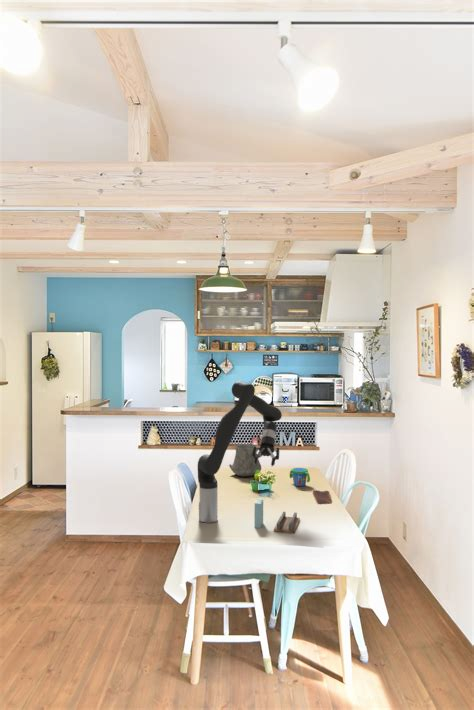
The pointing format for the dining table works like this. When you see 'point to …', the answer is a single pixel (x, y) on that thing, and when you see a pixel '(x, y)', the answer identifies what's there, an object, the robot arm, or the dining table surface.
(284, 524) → the track board
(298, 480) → the snack cup
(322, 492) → the wooden tablet
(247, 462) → the vessel
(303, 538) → the dining table surface
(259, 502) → the door panel
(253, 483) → the green potted plant
